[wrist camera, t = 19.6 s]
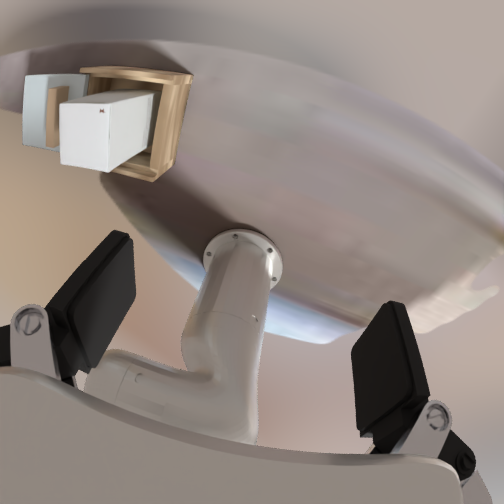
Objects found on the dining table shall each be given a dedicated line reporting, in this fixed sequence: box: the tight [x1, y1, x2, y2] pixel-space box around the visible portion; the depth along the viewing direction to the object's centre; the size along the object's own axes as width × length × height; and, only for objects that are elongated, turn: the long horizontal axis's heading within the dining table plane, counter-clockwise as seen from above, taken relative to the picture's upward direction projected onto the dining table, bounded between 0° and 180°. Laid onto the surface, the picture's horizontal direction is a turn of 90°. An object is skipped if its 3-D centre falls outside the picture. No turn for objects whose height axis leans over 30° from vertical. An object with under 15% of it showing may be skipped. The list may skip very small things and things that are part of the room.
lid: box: [22, 74, 90, 152], centre depth 27 cm, size 13×11×3 cm
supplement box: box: [59, 89, 162, 172], centre depth 28 cm, size 7×7×13 cm
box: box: [80, 66, 193, 182], centre depth 31 cm, size 13×13×7 cm
